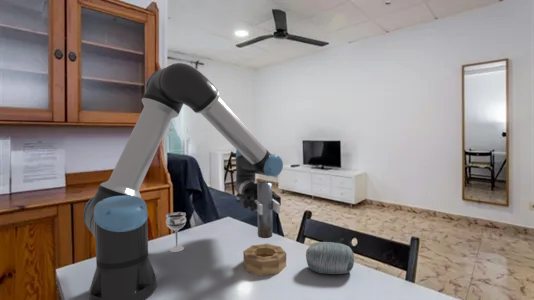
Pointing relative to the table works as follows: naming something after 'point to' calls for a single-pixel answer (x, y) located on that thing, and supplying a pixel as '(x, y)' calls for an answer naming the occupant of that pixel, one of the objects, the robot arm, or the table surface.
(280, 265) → the brown thick faceted ring
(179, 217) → the wineglass
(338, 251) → the grey yarn skein
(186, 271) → the table surface
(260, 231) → the rod
